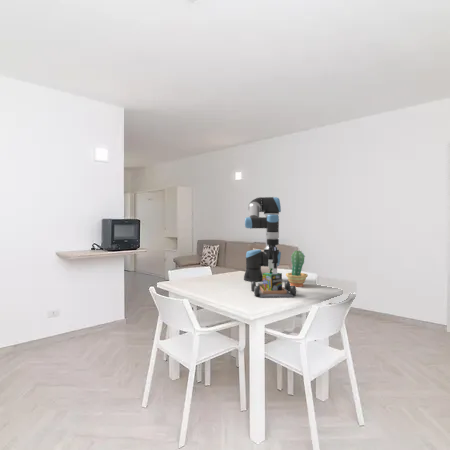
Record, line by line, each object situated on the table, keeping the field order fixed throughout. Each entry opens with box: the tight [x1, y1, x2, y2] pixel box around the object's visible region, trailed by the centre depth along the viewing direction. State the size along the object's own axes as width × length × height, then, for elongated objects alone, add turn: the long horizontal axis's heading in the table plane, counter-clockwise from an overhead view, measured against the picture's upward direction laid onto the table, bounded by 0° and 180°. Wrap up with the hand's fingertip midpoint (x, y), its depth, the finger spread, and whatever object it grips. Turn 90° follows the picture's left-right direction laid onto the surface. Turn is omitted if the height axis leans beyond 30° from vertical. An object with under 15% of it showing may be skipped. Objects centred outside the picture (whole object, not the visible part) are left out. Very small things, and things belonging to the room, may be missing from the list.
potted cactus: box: [285, 249, 309, 288], centre depth 229 cm, size 15×15×25 cm
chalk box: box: [262, 268, 283, 291], centre depth 205 cm, size 9×9×15 cm
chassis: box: [250, 280, 297, 299], centre depth 206 cm, size 24×25×6 cm
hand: (272, 271), depth 206 cm, fingers open, 13 cm apart
